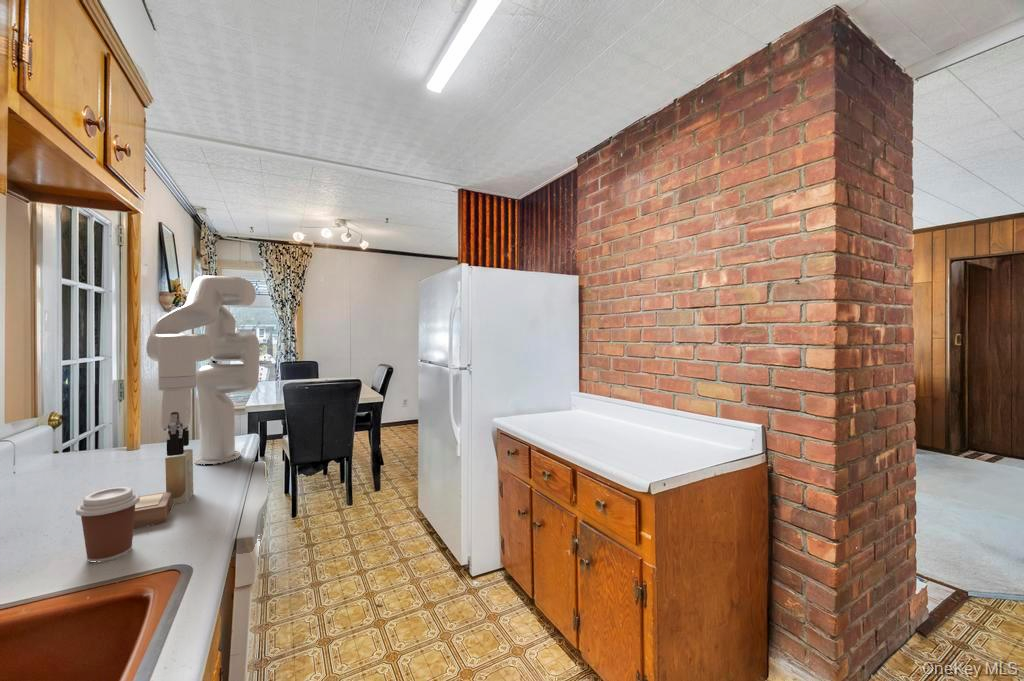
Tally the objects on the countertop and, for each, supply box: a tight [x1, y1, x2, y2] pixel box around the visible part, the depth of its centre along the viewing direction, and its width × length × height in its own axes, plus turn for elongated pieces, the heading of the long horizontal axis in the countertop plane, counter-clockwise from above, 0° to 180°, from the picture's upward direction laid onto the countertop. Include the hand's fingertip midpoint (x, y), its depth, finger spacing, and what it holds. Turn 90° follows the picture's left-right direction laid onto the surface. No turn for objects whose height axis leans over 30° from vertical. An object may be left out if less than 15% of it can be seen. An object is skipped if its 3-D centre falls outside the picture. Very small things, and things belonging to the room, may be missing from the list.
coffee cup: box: [75, 486, 140, 562], centre depth 83 cm, size 9×9×12 cm
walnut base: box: [133, 491, 174, 529], centre depth 98 cm, size 10×10×4 cm
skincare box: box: [164, 448, 194, 505], centre depth 108 cm, size 6×4×12 cm
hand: (178, 450), depth 107 cm, fingers open, 9 cm apart
